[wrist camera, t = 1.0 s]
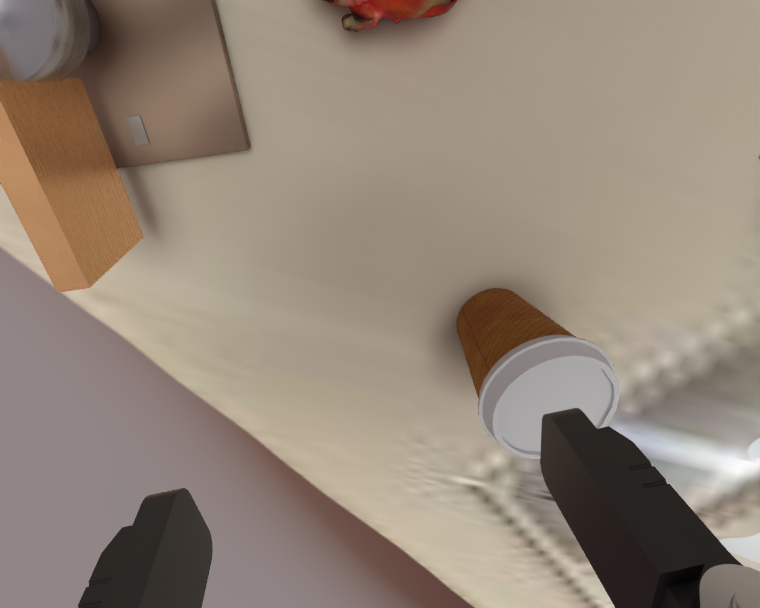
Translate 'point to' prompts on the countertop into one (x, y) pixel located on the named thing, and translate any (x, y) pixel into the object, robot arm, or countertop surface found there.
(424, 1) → the dragon fruit
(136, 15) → the post block
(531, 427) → the disposable coffee cup
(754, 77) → the countertop surface
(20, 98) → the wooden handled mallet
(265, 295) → the countertop surface
